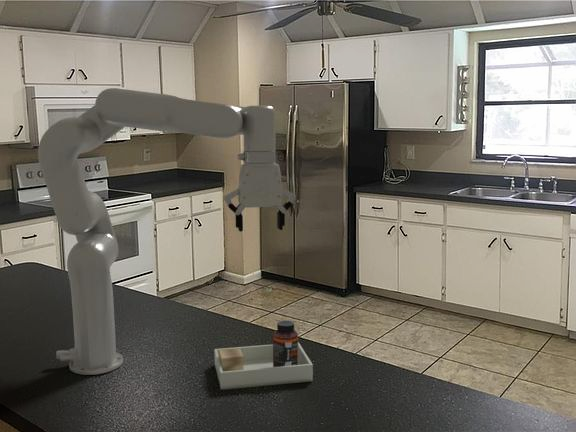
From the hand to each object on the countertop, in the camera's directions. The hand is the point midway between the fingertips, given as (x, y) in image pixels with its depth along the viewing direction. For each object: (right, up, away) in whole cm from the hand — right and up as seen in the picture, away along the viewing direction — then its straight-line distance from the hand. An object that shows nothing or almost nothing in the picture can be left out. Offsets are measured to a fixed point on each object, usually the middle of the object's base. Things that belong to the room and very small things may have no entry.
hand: (260, 229), depth 149 cm
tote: (0, -34, -1) cm, 34 cm away
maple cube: (-7, -34, -3) cm, 35 cm away
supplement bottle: (+6, -33, 0) cm, 34 cm away
